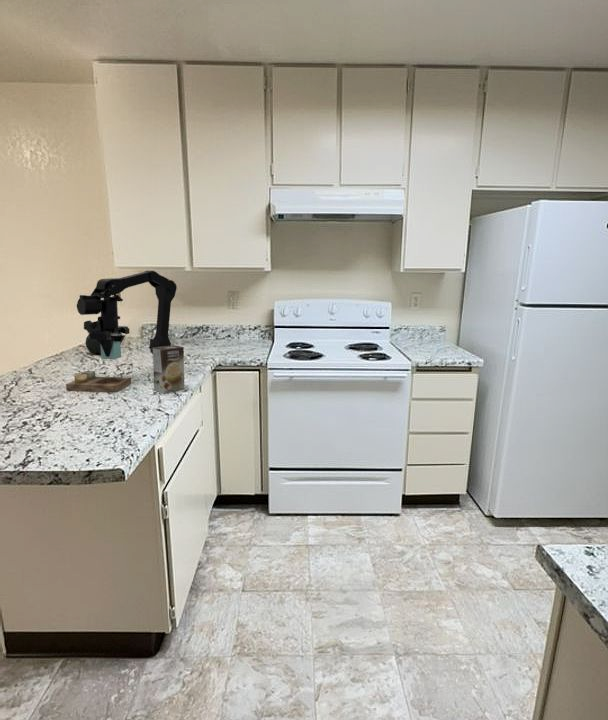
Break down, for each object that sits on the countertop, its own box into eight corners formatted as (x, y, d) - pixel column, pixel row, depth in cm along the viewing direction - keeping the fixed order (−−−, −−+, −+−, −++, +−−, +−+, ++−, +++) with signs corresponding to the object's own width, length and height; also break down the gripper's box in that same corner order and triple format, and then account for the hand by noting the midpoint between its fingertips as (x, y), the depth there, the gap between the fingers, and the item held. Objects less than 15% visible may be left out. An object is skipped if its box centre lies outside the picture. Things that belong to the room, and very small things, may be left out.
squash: (89, 347, 198) (107, 322, 204) (75, 344, 207) (92, 321, 213) (111, 362, 208) (128, 339, 214) (97, 359, 217) (113, 337, 223)
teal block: (121, 357, 155) (120, 341, 154) (114, 359, 150) (113, 343, 149) (108, 356, 155) (107, 340, 154) (101, 358, 150) (100, 342, 149)
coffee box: (163, 394, 145) (161, 349, 141) (153, 390, 149) (151, 347, 145) (185, 389, 152) (184, 346, 148) (175, 385, 156) (174, 344, 152)
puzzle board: (131, 383, 156) (130, 371, 155) (116, 392, 145) (115, 379, 144) (85, 382, 157) (83, 369, 156) (66, 390, 145) (65, 377, 144)
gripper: (101, 311, 159) (103, 350, 161) (72, 314, 140) (75, 358, 143) (129, 312, 158) (130, 351, 161) (104, 316, 140) (106, 360, 143)
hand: (111, 355), depth 152 cm, fingers closed on teal block, 5 cm apart
